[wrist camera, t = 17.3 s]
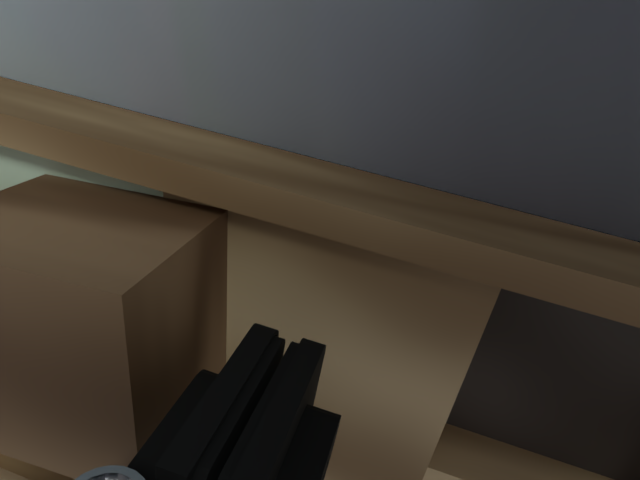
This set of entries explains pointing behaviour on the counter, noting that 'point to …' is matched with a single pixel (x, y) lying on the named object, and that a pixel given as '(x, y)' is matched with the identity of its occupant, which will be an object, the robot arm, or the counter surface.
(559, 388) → the tray
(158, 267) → the block
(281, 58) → the counter surface
